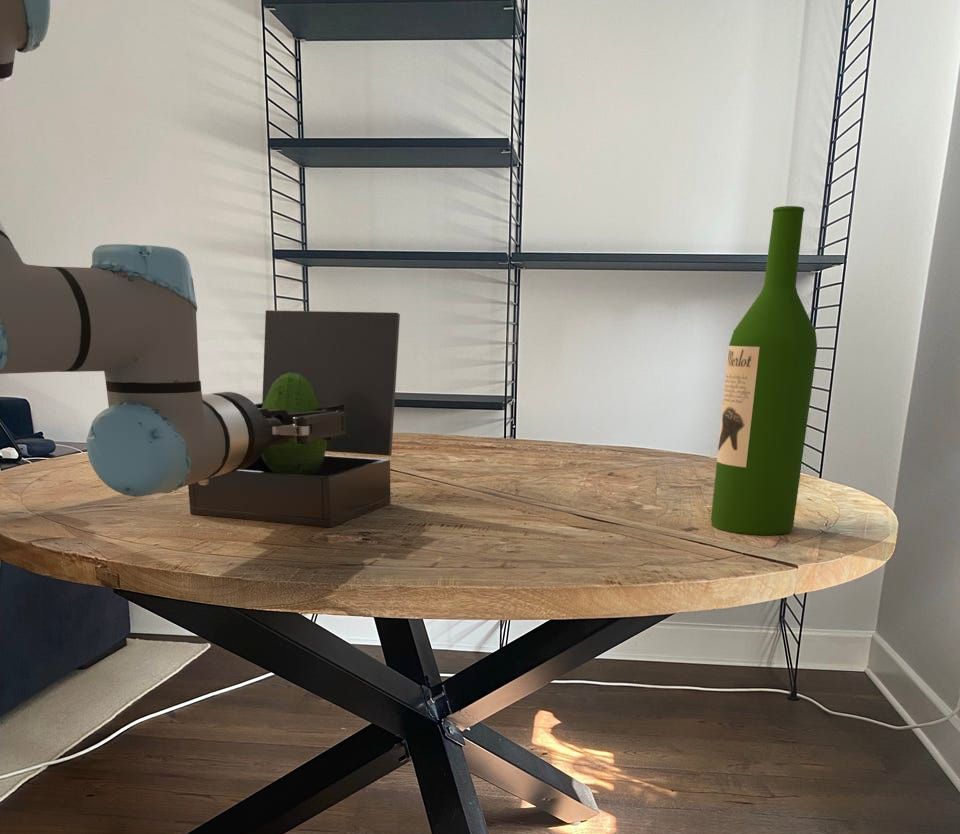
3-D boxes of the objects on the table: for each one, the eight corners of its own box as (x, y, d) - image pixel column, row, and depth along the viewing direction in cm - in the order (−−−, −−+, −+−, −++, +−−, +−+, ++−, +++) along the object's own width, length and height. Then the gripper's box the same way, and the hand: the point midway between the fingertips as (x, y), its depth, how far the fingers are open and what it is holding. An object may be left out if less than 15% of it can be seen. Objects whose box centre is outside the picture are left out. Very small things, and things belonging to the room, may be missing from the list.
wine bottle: (693, 522, 104) (724, 208, 93) (752, 516, 108) (788, 215, 97) (748, 538, 96) (789, 199, 86) (810, 531, 100) (856, 206, 90)
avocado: (333, 475, 109) (330, 371, 105) (322, 486, 102) (317, 374, 98) (267, 474, 109) (261, 370, 105) (250, 484, 102) (243, 373, 98)
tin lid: (397, 312, 106) (400, 313, 107) (265, 310, 111) (268, 311, 112) (388, 455, 109) (391, 455, 109) (260, 446, 114) (263, 447, 115)
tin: (330, 527, 97) (328, 477, 95) (190, 514, 102) (186, 466, 100) (390, 503, 111) (390, 459, 109) (264, 492, 116) (262, 450, 114)
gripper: (121, 469, 90) (228, 443, 111) (319, 479, 86) (391, 450, 107) (112, 390, 87) (223, 379, 108) (315, 397, 83) (390, 384, 104)
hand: (306, 414), depth 107 cm, fingers closed on avocado, 8 cm apart
